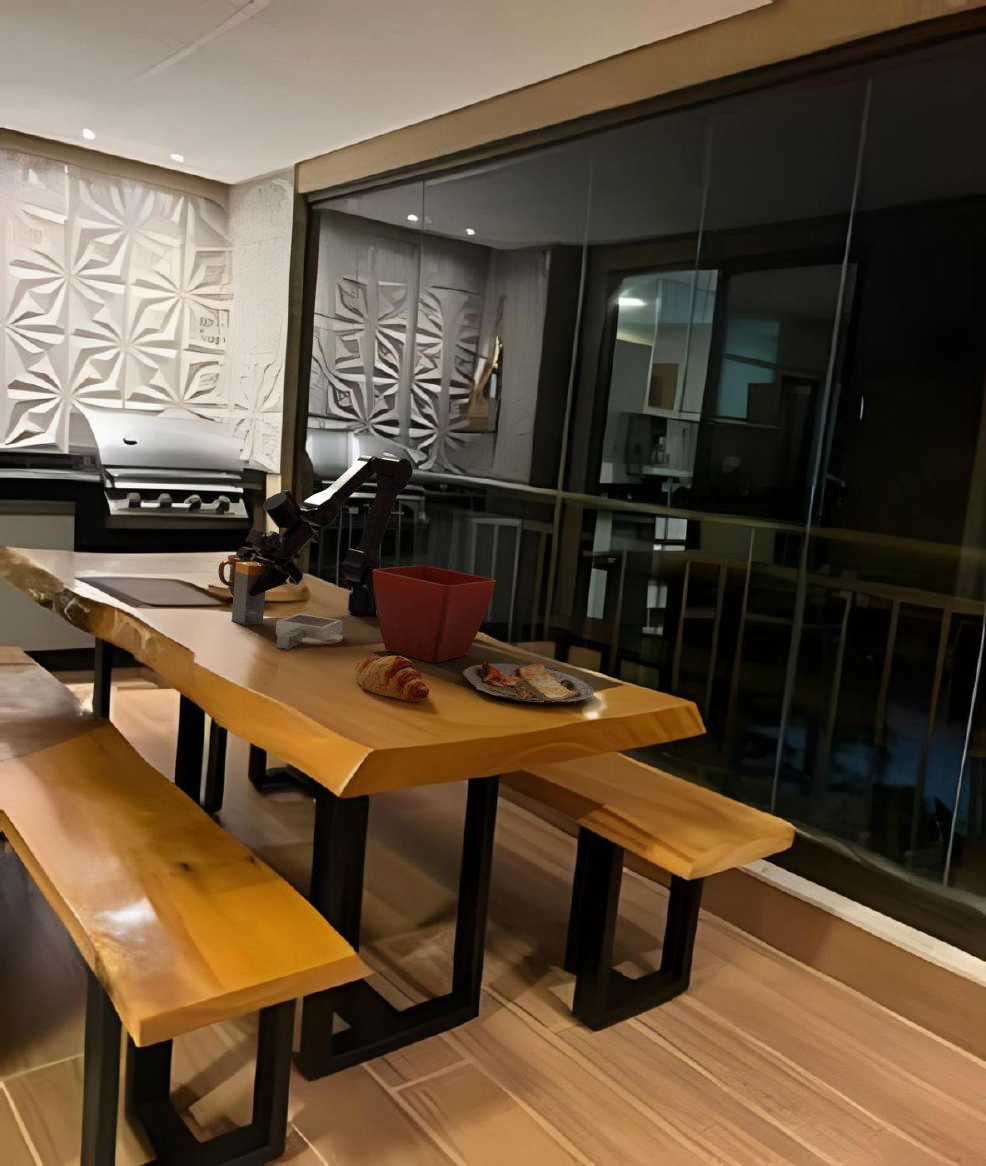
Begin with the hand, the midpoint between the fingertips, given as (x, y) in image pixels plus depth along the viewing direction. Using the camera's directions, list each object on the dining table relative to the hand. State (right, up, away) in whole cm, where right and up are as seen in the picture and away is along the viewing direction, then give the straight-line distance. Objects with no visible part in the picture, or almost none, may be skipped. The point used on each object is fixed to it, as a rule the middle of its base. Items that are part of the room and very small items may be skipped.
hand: (244, 592), depth 211 cm
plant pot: (+40, -13, -9) cm, 43 cm away
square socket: (+15, -10, -9) cm, 19 cm away
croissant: (+36, -17, -40) cm, 57 cm away
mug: (-9, -2, +27) cm, 29 cm away
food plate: (+60, -18, -29) cm, 70 cm away
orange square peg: (0, -6, +2) cm, 7 cm away
